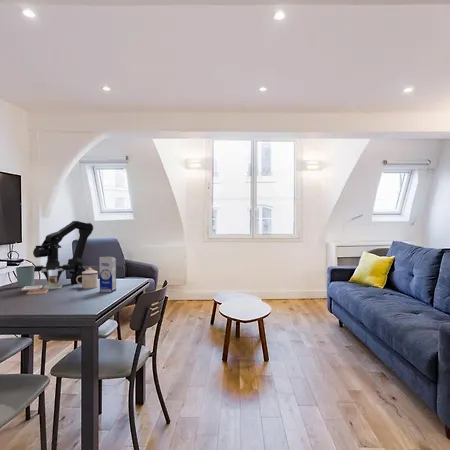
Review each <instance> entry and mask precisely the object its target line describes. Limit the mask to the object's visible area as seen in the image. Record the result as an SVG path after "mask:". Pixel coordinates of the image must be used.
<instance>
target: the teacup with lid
mask: <svg viewBox="0 0 450 450" xmlns="http://www.w3.org/2000/svg"><path fill="white" fill-rule="evenodd" d="M85 270H86V271H84V272H82V276H78V277H82V283H80V282H78V280H77V279H78V277H77V278H76V281H77V283H79V284H78V285H81V287H82V289H85V290H86V289H87V290H91V289H96V288H97V287H98V285H99V282H98V280H99V279H98V278H99V276H98V273H99V272H98V271H97V270H94V268H93V269H92V267H88V268H87V269H85Z"/></svg>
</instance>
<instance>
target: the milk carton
mask: <svg viewBox="0 0 450 450" xmlns="http://www.w3.org/2000/svg"><path fill="white" fill-rule="evenodd" d="M98 260H99V293H102V294H103V293H104V294H105V293H108V294H109V293H111V294H112V293H114V292H116V291H117V258H115V257H114V256H112V255H106V256H99V259H98Z"/></svg>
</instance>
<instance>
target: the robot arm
mask: <svg viewBox="0 0 450 450" xmlns="http://www.w3.org/2000/svg"><path fill="white" fill-rule="evenodd" d="M76 229H77V230H78V235H79V236H78V241H77V244H76V247H75V250H74V254H73V257H72V258H69V259H68V260H67V264H63V265H60V264H61V263H60V261H59V249H61V248H62V246H61V245H60V244H59V243H61V242H62V241H63V239H64V238H65V236H67V235H69V234H70V233H72V232H73V231H74V230H76ZM93 231H94V225H93V224H92V223H91V222H90V223H89V222H83V221H80V220H72V221H71V222H70V223H68V224H67V225H65V226H64V227H62V228H60V229H59V230H57V231H56V232H53V233H52V232H51V233H49V234H47V235H46V236H44V237H45V239H44V240H43V242H42V243H41V245H35V247H34V248H33V251H32V253H33V256H34V258H35V259H37V258H47V259H46V264H45V265H36V266H35V268H34V272H40V273H42V274H44V276H45V279H46V281H47V282H48V277H49V276H50V274H49V273H50V272H49V271H55V270H58V271H57V276H58V277H57V282H58V283H59V281H60V278H61V275H62V274H63V272H64V271H68V272H69V274H71V276H70V284H71V285H80V284H79V283H77V281H76V278H77V277H78V276H82V272H84V271H86V270H87V269H85V268H84V267H83V260H82V258H83V254H84V252H85V248H86V245H87V241H88V239H89V236H91V235H92V233H93ZM77 280H78V282H80V283H82V277H78V279H77Z"/></svg>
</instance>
